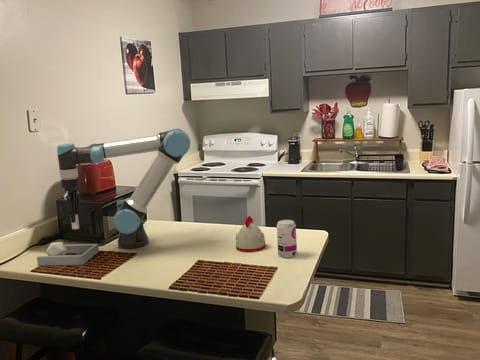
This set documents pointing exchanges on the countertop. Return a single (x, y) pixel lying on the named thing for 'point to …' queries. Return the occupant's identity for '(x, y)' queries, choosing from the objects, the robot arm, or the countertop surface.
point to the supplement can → (286, 238)
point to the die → (56, 249)
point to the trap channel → (85, 254)
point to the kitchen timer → (250, 237)
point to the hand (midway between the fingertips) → (75, 228)
